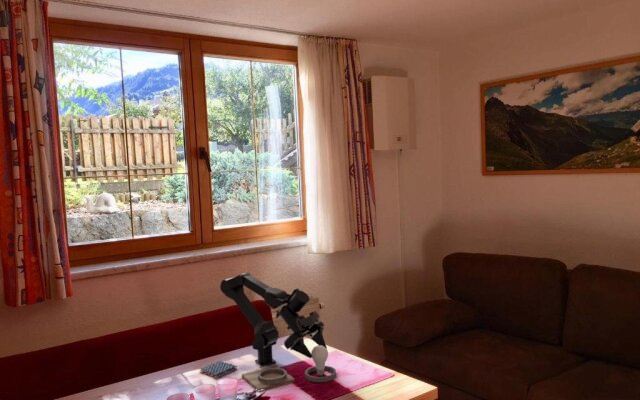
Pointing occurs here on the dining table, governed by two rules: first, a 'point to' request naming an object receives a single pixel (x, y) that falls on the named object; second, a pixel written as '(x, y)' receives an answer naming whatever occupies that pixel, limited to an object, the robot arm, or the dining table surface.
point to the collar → (320, 379)
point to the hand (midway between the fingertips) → (318, 353)
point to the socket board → (268, 378)
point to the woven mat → (218, 369)
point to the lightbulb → (319, 358)
